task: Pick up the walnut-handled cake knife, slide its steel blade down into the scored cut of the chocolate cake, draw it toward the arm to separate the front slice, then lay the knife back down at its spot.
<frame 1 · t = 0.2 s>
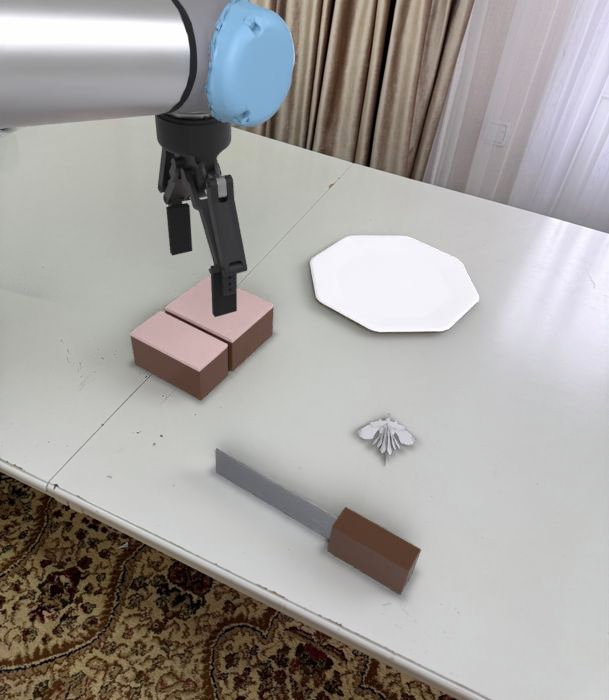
hand: (201, 280, 75), 17 cm above the table, tool pointing down, fingers open, 13 cm apart
cake knife: (369, 562, 68), on the table
flower: (385, 445, 81), on the table
plate: (391, 286, 107), on the table
cake: (220, 336, 94), on the table
cake slice: (181, 370, 88), on the table
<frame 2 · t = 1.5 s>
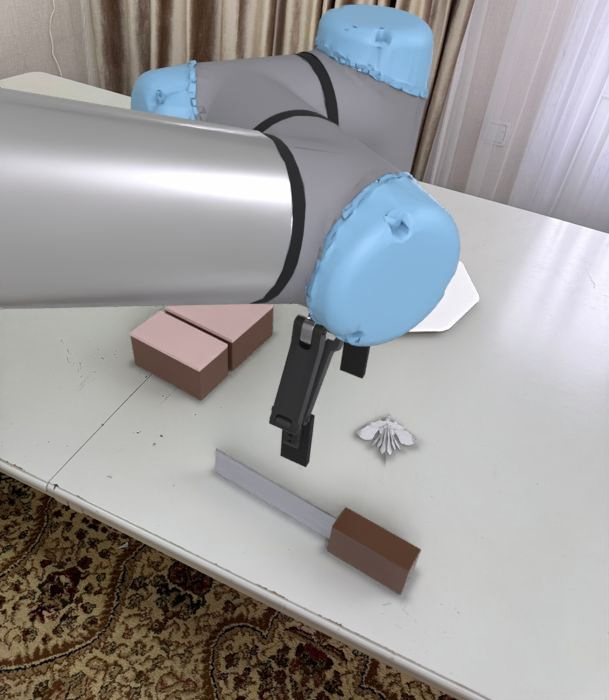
hand: (325, 412, 63), 15 cm above the table, tool pointing down, fingers open, 13 cm apart
nothing on the table moved.
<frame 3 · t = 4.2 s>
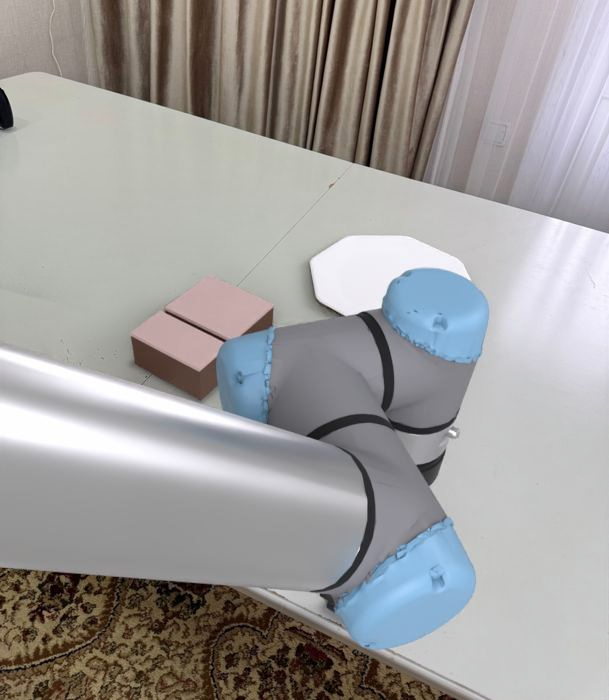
hand: (370, 561, 68), 0 cm above the table, tool pointing down, fingers open, 13 cm apart
nothing on the table moved.
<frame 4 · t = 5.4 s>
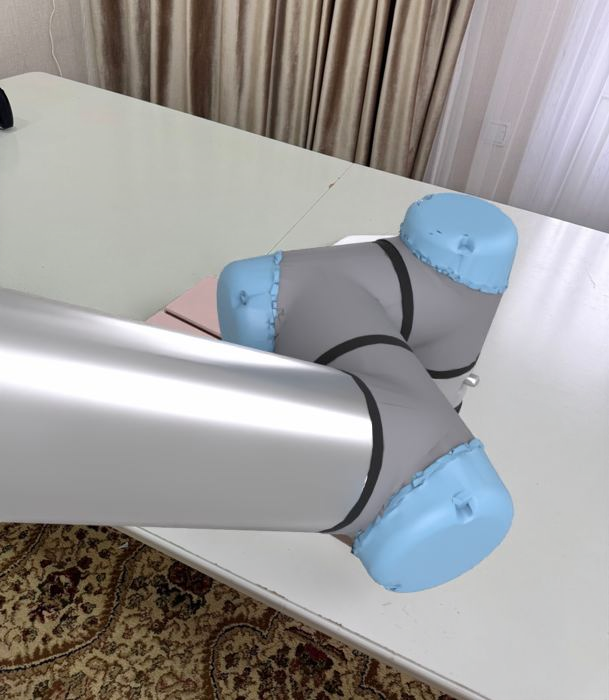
hand: (372, 543, 65), 4 cm above the table, tool pointing down, fingers closed on cake knife, 3 cm apart
cake knife: (371, 545, 65), point 4 cm above the table, touching gripper
everything else where it was.
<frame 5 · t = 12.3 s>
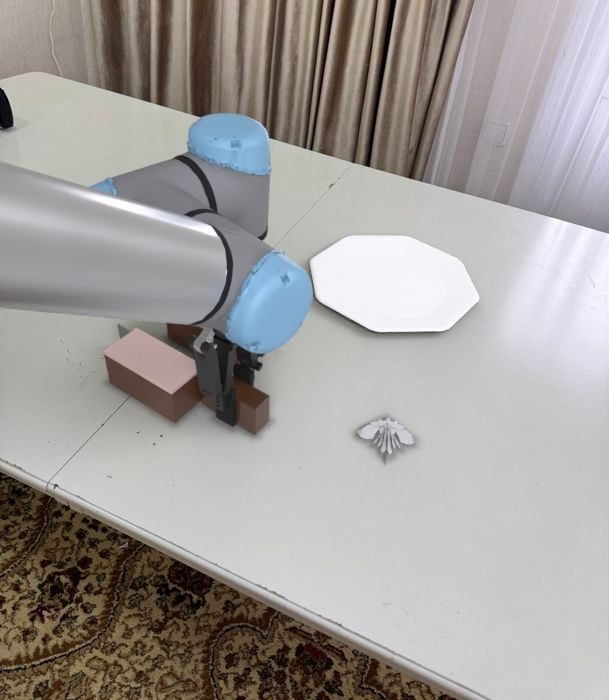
hand: (235, 411, 82), 0 cm above the table, tool pointing down, fingers closed on cake knife, 3 cm apart
cake knife: (235, 412, 82), on the table, touching cake slice, gripper
cake slice: (157, 390, 85), on the table, touching cake knife
everything else where it was.
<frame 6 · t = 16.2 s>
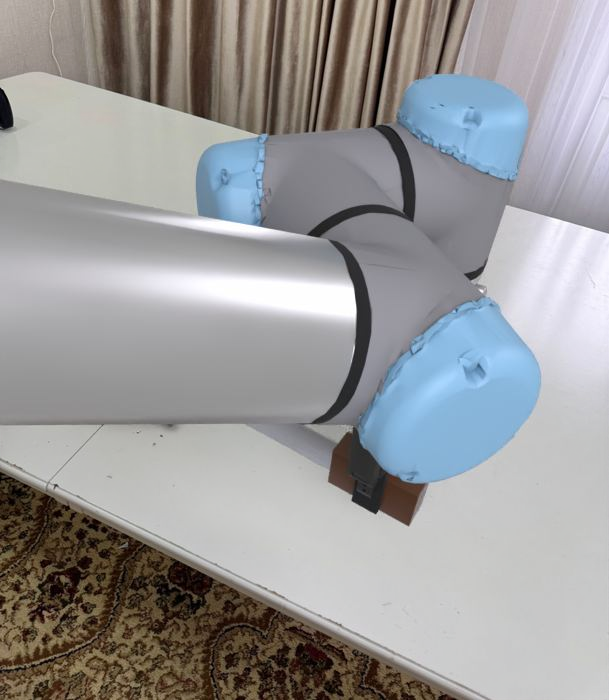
hand: (374, 491, 61), 11 cm above the table, tool pointing down, fingers closed on cake knife, 3 cm apart
cake knife: (373, 493, 61), point 11 cm above the table, touching gripper
cake slice: (152, 393, 84), on the table
everything else where it was.
when the fingers open (0 cm above the table, at t = 18.9 s): cake knife stays where it is, on the table.
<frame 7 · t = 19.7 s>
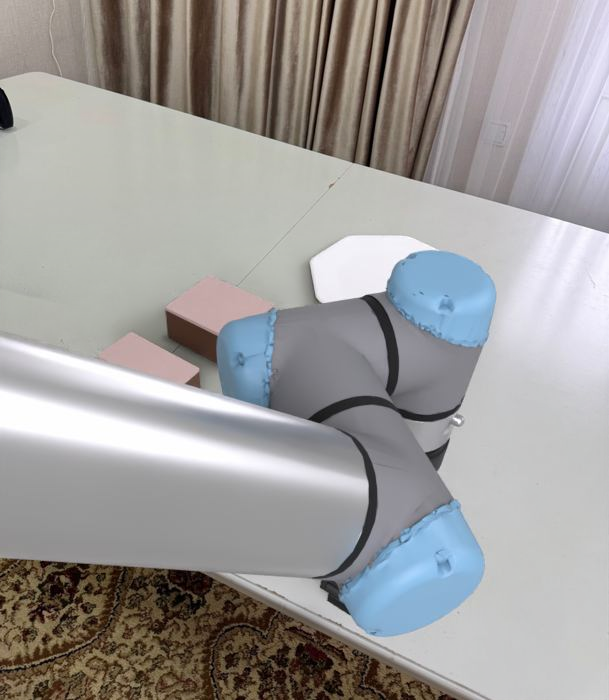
hand: (371, 554, 67), 2 cm above the table, tool pointing down, fingers open, 13 cm apart
cake knife: (370, 562, 68), on the table
everything else where it was.
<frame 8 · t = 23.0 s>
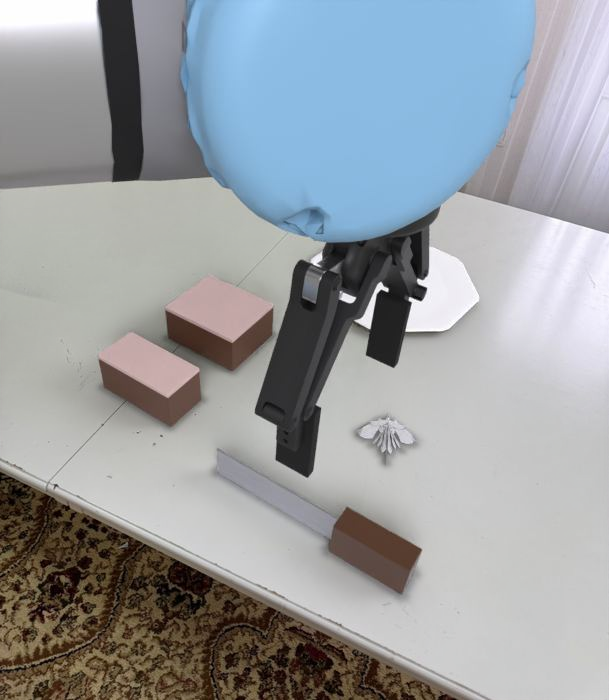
hand: (341, 407, 48), 27 cm above the table, tool pointing down, fingers open, 13 cm apart
nothing on the table moved.
at the end: cake slice 0.2 cm from the target spot on the table beside the cake, on the table; cake moved 0.0 cm from its start; cake knife inside the target area (0.1 cm from its centre), on the table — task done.
